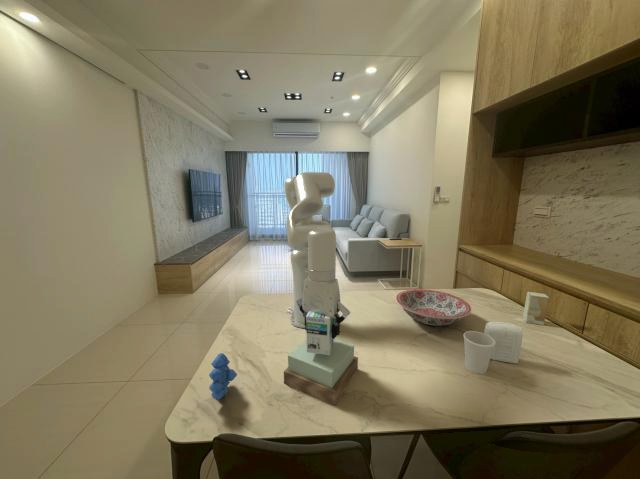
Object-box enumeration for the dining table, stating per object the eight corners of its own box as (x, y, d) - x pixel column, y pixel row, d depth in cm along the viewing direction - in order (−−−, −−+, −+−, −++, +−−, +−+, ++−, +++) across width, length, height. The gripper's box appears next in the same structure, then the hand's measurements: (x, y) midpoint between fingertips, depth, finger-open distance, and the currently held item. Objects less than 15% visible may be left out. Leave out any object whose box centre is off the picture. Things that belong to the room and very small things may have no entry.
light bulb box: (330, 356, 70) (330, 318, 68) (305, 353, 71) (305, 316, 69) (335, 335, 80) (336, 302, 78) (314, 332, 82) (314, 300, 80)
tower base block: (284, 385, 74) (283, 371, 74) (312, 355, 88) (312, 343, 87) (334, 407, 67) (335, 392, 66) (357, 370, 80) (357, 357, 80)
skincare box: (525, 322, 108) (529, 295, 106) (522, 318, 112) (526, 291, 110) (545, 325, 106) (549, 297, 104) (540, 321, 110) (545, 293, 108)
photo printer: (515, 357, 86) (520, 322, 84) (520, 365, 82) (526, 329, 80) (479, 351, 89) (483, 317, 87) (483, 359, 85) (487, 324, 83)
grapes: (234, 412, 65) (231, 368, 62) (205, 415, 64) (201, 371, 62) (242, 379, 76) (239, 341, 74) (217, 381, 75) (214, 343, 73)
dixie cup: (474, 356, 86) (477, 328, 84) (498, 373, 78) (502, 342, 77) (454, 362, 83) (457, 333, 82) (477, 379, 76) (481, 348, 74)
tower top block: (288, 369, 74) (287, 355, 73) (314, 345, 86) (314, 332, 85) (331, 388, 67) (331, 372, 66) (353, 358, 79) (354, 345, 78)
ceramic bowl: (468, 312, 118) (470, 295, 116) (470, 345, 92) (473, 324, 91) (401, 300, 131) (402, 285, 130) (388, 326, 106) (389, 307, 104)
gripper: (288, 273, 73) (289, 330, 76) (345, 283, 65) (344, 347, 68) (302, 266, 79) (303, 319, 83) (356, 275, 71) (355, 334, 74)
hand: (321, 332), depth 75 cm, fingers closed on light bulb box, 8 cm apart
